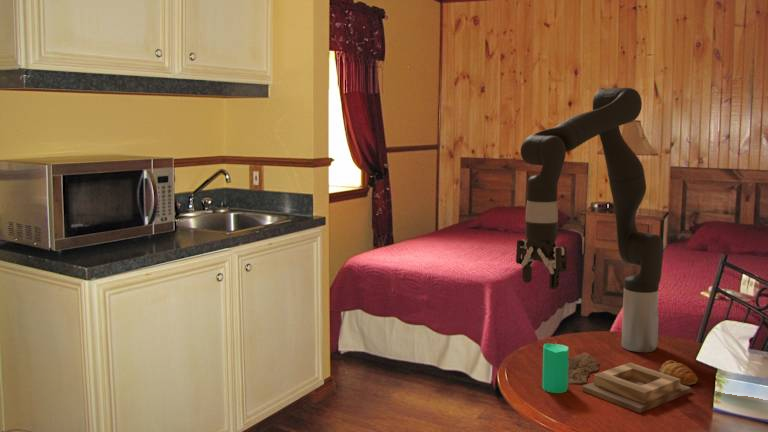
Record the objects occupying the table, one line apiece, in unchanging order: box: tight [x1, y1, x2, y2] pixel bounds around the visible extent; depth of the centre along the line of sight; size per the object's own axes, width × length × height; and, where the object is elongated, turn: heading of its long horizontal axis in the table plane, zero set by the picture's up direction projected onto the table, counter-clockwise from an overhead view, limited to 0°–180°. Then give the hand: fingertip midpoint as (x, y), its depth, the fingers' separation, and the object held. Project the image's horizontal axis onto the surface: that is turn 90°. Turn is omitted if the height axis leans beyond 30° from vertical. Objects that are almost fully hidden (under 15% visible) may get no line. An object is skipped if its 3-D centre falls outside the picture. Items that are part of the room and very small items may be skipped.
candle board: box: [581, 362, 692, 414], centre depth 167 cm, size 20×16×4 cm
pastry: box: [659, 359, 699, 386], centre depth 174 cm, size 9×7×4 cm
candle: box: [541, 343, 570, 394], centre depth 169 cm, size 6×6×12 cm
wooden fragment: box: [568, 352, 601, 386], centre depth 183 cm, size 26×11×1 cm, turn 147°
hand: (540, 285), depth 168 cm, fingers open, 8 cm apart
